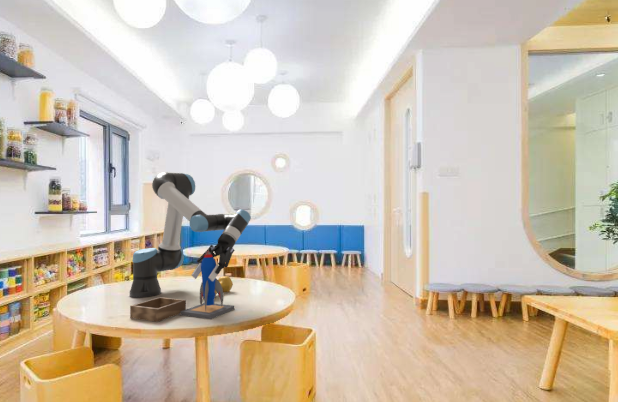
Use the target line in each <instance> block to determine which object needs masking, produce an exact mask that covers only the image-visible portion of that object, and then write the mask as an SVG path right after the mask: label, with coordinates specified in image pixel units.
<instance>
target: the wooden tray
mask: <svg viewBox="0 0 618 402" xmlns="http://www.w3.org/2000/svg"><path fill="white" fill-rule="evenodd" d="M186 301H187V299H180V298H172V297H161V296H158V297H156V298H152V299H148V300H145V301H142V302H138V303H135V304H132V305H129V310H130V311H129V314H130V315H129V317H130V319H134V318H136V320H142V321H148V322H157V323H159V322H162V321H163V320H164V321H165V320H167V319H169V318H172V317H175V316H178V315H180V311H183V310H186V309H187V302H186Z"/></svg>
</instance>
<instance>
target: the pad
mask: <svg viewBox="0 0 618 402" xmlns="http://www.w3.org/2000/svg"><path fill="white" fill-rule="evenodd" d="M234 310H235V305H231V304H223V306H221V303H215V302H214V305H209V306H207V305H206V310H205V302H202V307H201V304H197V305H194V306H191V307H189V308H186V310H183V311H180V314H179V315H180V316H185V317H194V318H200V319H207V320H212V319H214V318H217V317H219V316H222V315H225V314H227V313H228V312H231V311H234Z"/></svg>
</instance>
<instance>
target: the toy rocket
mask: <svg viewBox="0 0 618 402" xmlns="http://www.w3.org/2000/svg"><path fill="white" fill-rule="evenodd" d="M207 250H208V249H207ZM207 250H206V251H207ZM206 251H205V252H206ZM216 265H217V262H216V260H215V257H214V258H213V256H212V254H211V253H210V252H209V250H208V251H207V252H206V254H205V256H204V258H203V260H202V263H201V272H200V274H201V280H202V281H201V283H200V288H199V302H200V304H201V307H202V303H203V299H204V303H205V310H206V305H207V306H209V305H214V303H215V298H216V296H215V290H216V291H217V295H218V297H219V300H220V304H221V306H223V305H224V292H223V289H222V286H221V284H220V282H219V281H218V278H217V277H216V278H215V279H214V281H211V280H210V279H209V278H208V277H209V276H210V274H211V273H212V271H213V270H214V268H215V267H216ZM203 296H204V297H203ZM200 304H199V305H200Z"/></svg>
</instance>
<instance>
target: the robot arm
mask: <svg viewBox="0 0 618 402" xmlns="http://www.w3.org/2000/svg"><path fill="white" fill-rule="evenodd" d="M151 185H152V186H151V188H152V190H153V193H154V194H155V195H156V196H158V198H159V199H161V200H165V201H166V202H167V208H166V209H167V210H166V217H165V223H164V229H163V236H162V240H161V243H159V244H158V247H157V248H156V247H148V248H141V249H138V250H136V251H134V253H133V254H132V283H131V286H130V287H131V288H130V290H129V297H131V298H149V297H155V296H158V295H161V293H162V289H161V286H160V283H159V280H158V273H159V272H165V271H173V270H176V269H178V268H180V267H181V266H182V265H183V262H184V259H185V257H184V256H185V254H184V251H183V249H182V247H181V245H180V244H179V243H180V239H181V231H182V226H183V220H184V219H186V220H187V221H188V222H189V227H190V229H191V231H193V232H195V233H203V232H212V231H214V232H215V231H222V233H221V234H220V235H219V237H218V239H217V244H215V246H214V245H212V244H211V245H209V247H208V248H207V249H206V250H205V252H204V253H202V254H201V255H200V257H199V258H198V259H197V260H196V262H197V263H198V264H197V265H196V267H195V268H194V271H193V272H192V273H191V277H192V278H193V279H194V280H196V279H197V278H198V277H199V275H200V274H201V263H202V260H203V258H204V256H205V254H206V252H207V251H208V250H209V252H210V253H211V254H212V256H213V258H214V259H215V258H216V257H217V256H219V257H218V258H219V259H218V263H217V264H216V267H215V268H214V270H213V271H212V273H211V274H210V276H209V277H208V278H209V279H210V280H211V281H214V279H215V278H216V279H217V276H218V275H219V274H220V272H221V271H222V270H223V269H224V268H226V269H227V268H228V266H229V264H230V261H231V259H232V255H233V253H234V252H235V251H236V250H235V249H234V246H235V245H236V243H237V241H238V240H239V238H240V236H241V235H242V234H243V232H244V230H245V229H246V228H247V227H248V225H249V223H250V221H251V219H252V218H251V217H252V215H251V214H250V213H249V212H248V211H247V210H245V209H238V210H237V211H236V212H235V213H231V214H227V213H226V214H225V213H217V214H207V213H205V212H204V211H203V210H202V209H200V207H198V206H197V205H196V204H195V203H194V202H193V201H191V200H190V196H192V195H193V194H194V193H195V191H196V181H195V180H194V178H193V176H191V174H189V173H183V172H179V173H178V172H168V171H167V172H160V173H158V174H157V175H156V176H154V178H153V180H152V184H151ZM183 218H184V219H183Z"/></svg>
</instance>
